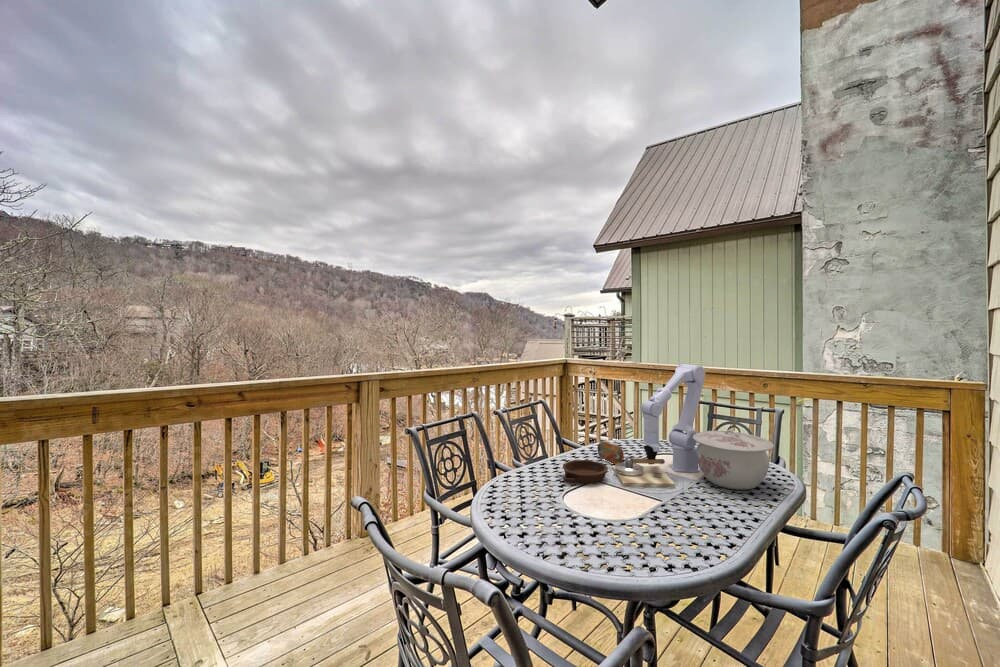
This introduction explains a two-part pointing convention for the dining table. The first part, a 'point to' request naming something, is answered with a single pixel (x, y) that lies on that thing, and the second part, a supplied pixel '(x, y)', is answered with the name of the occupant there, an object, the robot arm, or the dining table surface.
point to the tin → (610, 452)
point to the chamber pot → (733, 458)
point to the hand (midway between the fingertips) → (651, 464)
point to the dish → (584, 472)
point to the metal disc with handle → (635, 466)
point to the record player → (646, 478)
